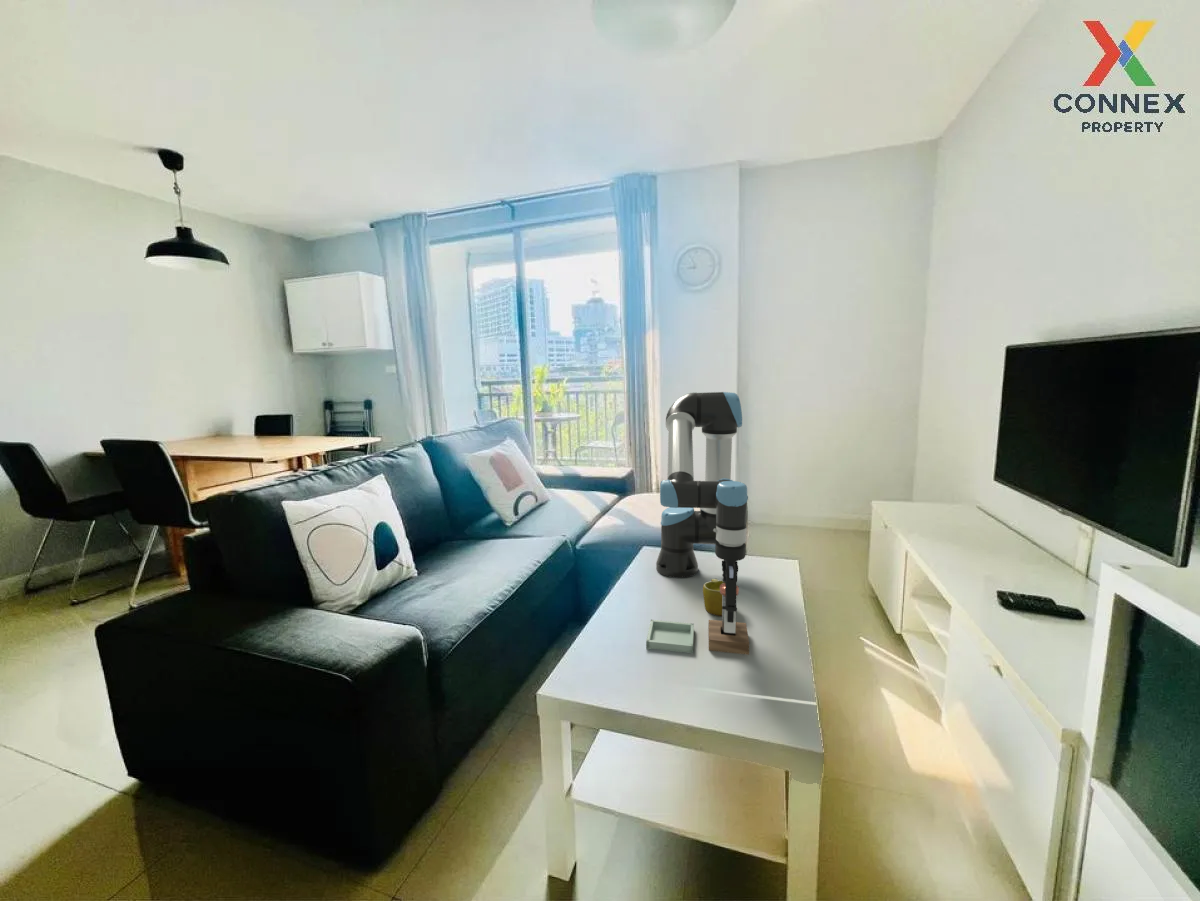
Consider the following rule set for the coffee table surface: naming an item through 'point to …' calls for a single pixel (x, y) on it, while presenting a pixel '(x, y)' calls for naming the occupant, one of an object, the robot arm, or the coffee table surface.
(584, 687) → the coffee table surface
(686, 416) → the robot arm
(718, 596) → the mug
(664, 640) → the tray
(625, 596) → the coffee table surface
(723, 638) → the socket block
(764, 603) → the coffee table surface
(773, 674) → the coffee table surface
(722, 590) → the pin
